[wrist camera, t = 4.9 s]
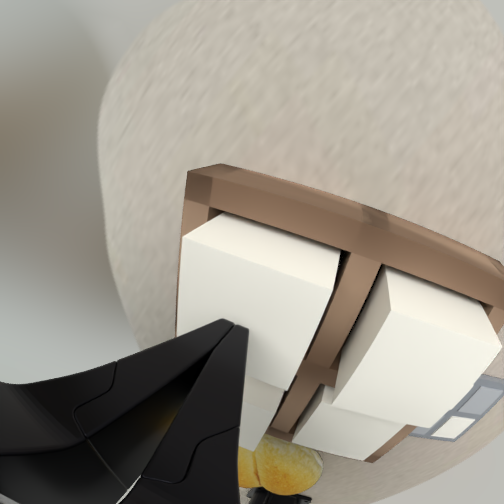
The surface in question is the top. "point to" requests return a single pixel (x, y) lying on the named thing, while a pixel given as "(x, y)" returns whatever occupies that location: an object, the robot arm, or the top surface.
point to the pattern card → (465, 410)
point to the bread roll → (279, 466)
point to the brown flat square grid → (351, 269)
